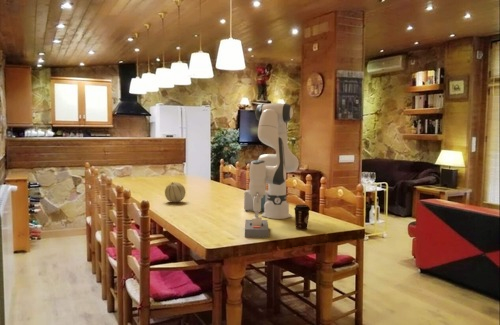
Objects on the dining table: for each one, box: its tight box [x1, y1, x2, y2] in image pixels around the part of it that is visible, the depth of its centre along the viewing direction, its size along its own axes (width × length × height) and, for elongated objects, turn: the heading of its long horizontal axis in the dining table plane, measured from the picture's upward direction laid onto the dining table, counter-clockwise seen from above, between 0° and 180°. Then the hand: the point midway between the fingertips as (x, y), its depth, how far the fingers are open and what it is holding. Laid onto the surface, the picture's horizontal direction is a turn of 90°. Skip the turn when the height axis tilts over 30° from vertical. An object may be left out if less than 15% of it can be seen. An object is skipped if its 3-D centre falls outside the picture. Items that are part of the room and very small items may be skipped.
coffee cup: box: [293, 204, 311, 231], centre depth 225 cm, size 9×8×13 cm
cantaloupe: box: [164, 181, 186, 203], centre depth 297 cm, size 15×15×15 cm
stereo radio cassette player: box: [243, 183, 268, 212], centre depth 274 cm, size 21×8×20 cm, turn 89°
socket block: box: [244, 219, 270, 239], centre depth 217 cm, size 22×12×5 cm, turn 0°
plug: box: [251, 216, 263, 226], centre depth 217 cm, size 4×5×7 cm
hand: (256, 217), depth 216 cm, fingers closed
